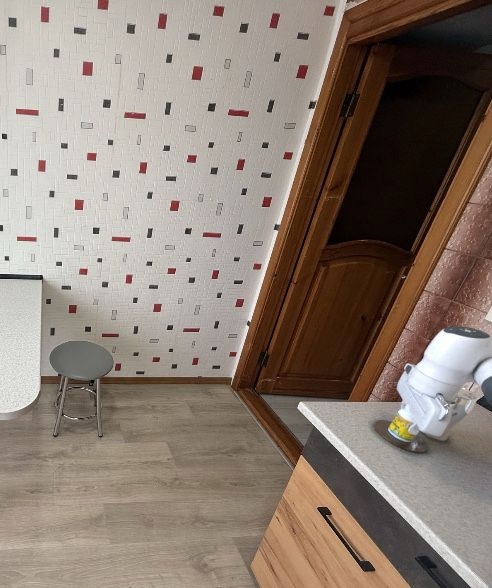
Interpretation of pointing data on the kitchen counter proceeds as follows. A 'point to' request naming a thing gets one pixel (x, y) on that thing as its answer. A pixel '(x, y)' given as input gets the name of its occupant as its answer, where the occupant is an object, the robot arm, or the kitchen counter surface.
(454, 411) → the beer glass
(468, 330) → the robot arm
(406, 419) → the supplement bottle
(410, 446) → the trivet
